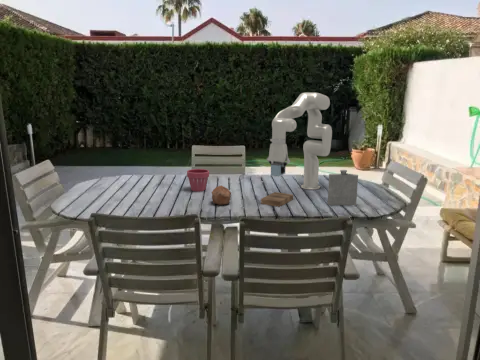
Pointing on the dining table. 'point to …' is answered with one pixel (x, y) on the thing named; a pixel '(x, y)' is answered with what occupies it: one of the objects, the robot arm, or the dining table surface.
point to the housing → (276, 169)
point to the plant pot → (198, 179)
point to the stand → (277, 199)
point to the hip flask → (342, 188)
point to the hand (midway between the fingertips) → (278, 172)
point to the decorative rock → (221, 195)
